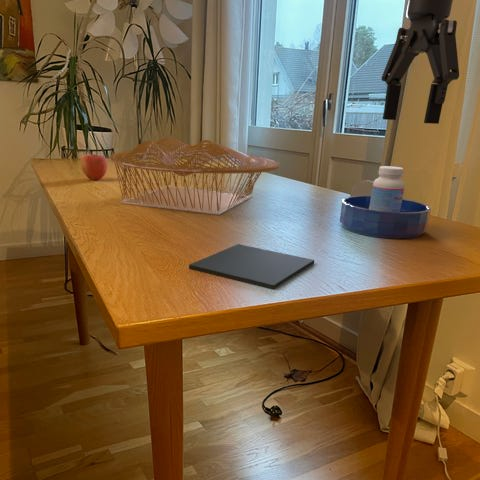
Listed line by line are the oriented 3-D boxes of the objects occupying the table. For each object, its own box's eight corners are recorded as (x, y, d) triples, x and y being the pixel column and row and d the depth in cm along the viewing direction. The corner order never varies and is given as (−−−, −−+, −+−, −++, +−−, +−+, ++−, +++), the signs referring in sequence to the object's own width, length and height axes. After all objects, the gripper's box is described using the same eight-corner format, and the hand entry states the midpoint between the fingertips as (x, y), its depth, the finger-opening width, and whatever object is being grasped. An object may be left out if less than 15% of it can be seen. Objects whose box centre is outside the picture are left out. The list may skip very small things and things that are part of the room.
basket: (251, 226, 95) (255, 153, 89) (80, 204, 106) (73, 138, 100) (291, 196, 126) (296, 141, 120) (156, 182, 137) (155, 131, 131)
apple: (76, 178, 137) (74, 149, 133) (98, 176, 142) (96, 148, 139) (91, 182, 133) (89, 152, 129) (113, 180, 138) (111, 150, 134)
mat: (314, 263, 75) (314, 259, 74) (273, 289, 64) (273, 285, 63) (237, 247, 81) (238, 243, 81) (188, 268, 70) (188, 264, 70)
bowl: (432, 227, 101) (437, 203, 99) (414, 244, 87) (420, 217, 85) (354, 214, 109) (357, 192, 107) (327, 229, 95) (330, 204, 93)
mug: (393, 210, 117) (397, 176, 109) (366, 231, 114) (368, 197, 106) (369, 197, 121) (372, 164, 113) (343, 217, 118) (343, 184, 110)
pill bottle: (396, 229, 94) (407, 170, 90) (365, 225, 96) (374, 167, 91) (398, 223, 99) (408, 167, 95) (368, 219, 101) (377, 164, 97)
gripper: (375, 1, 94) (359, 117, 103) (464, -25, 73) (434, 124, 82) (407, 5, 97) (389, 118, 106) (502, -19, 75) (469, 125, 84)
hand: (408, 121), depth 94 cm, fingers open, 13 cm apart
